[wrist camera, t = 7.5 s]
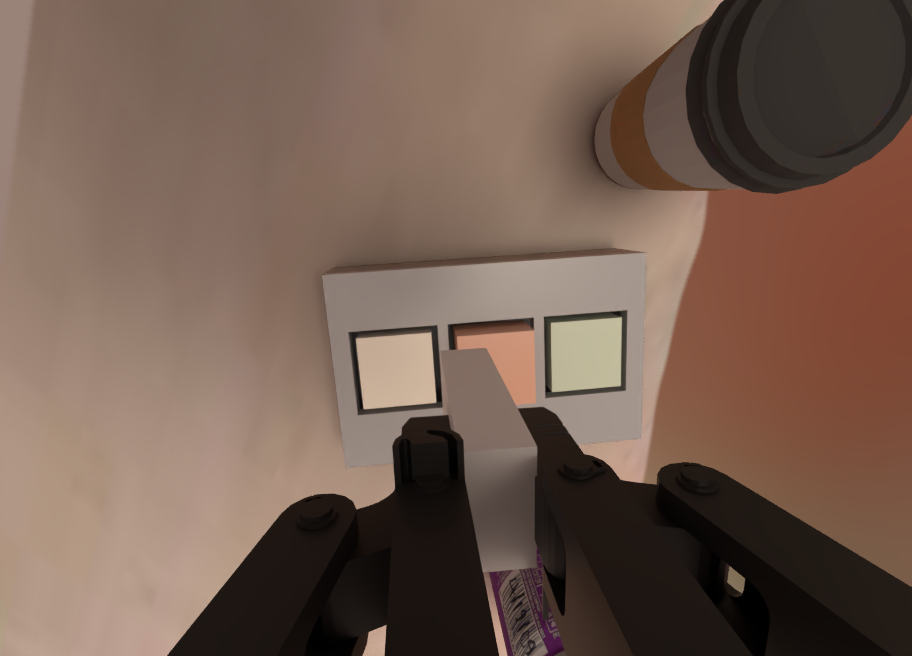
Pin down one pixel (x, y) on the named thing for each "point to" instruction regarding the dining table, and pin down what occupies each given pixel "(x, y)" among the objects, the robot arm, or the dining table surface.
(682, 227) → the dining table surface
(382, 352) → the key cream
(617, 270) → the keypad
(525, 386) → the key terracotta
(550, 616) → the beverage can
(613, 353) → the key sage
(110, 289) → the dining table surface
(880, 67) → the coffee cup
